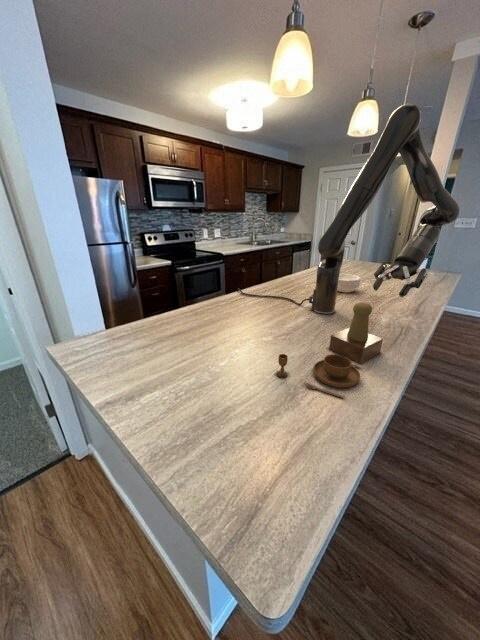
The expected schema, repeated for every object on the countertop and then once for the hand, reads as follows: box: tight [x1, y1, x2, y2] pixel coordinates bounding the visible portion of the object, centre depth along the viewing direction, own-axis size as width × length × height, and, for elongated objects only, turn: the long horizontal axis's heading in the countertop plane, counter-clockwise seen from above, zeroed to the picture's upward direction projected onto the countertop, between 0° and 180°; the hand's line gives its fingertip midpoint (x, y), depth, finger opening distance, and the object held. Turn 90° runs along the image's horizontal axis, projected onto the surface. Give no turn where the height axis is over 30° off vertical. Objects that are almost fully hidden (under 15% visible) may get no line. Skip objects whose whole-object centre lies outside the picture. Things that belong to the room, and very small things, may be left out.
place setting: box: [276, 353, 361, 399], centre depth 72 cm, size 18×20×6 cm
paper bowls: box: [337, 273, 361, 293], centre depth 147 cm, size 15×15×8 cm
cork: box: [347, 302, 373, 341], centre depth 80 cm, size 6×6×11 cm
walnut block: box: [328, 327, 384, 364], centre depth 83 cm, size 11×11×5 cm
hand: (387, 292), depth 85 cm, fingers open, 8 cm apart
